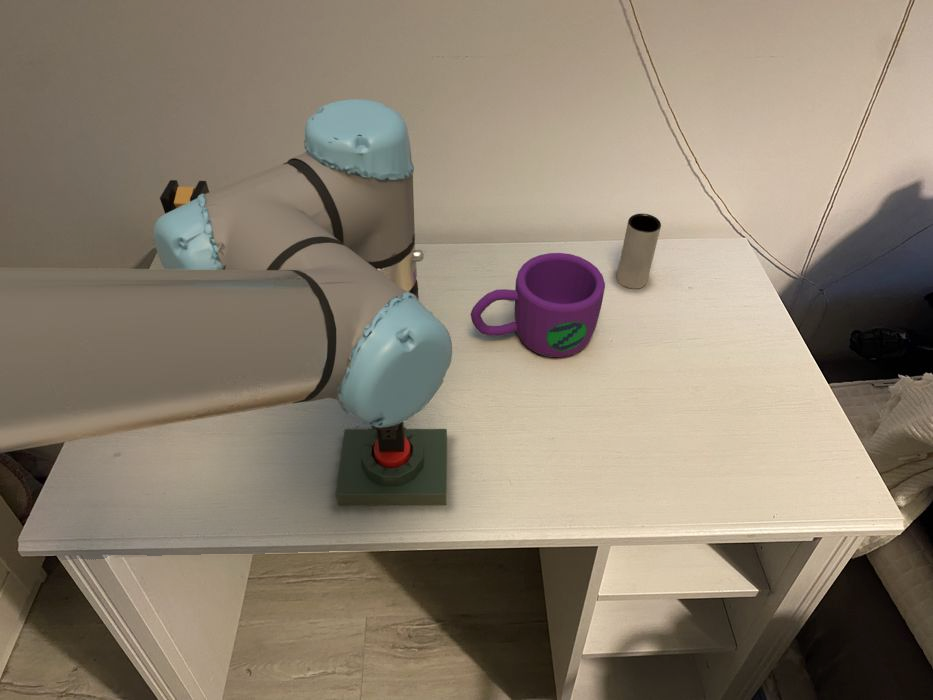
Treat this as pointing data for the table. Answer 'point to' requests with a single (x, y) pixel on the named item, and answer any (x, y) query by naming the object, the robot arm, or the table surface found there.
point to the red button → (392, 456)
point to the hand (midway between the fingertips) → (392, 445)
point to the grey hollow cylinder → (638, 250)
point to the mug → (550, 304)
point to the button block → (393, 470)
